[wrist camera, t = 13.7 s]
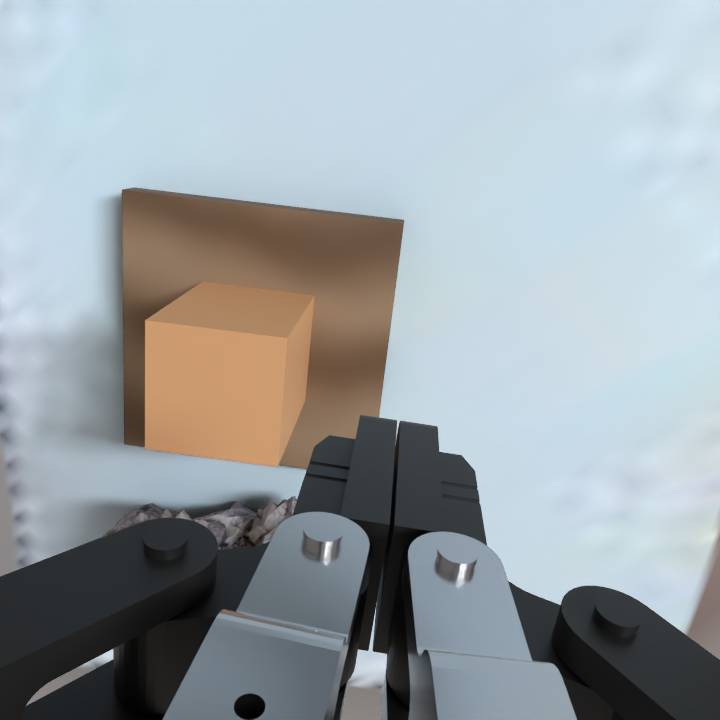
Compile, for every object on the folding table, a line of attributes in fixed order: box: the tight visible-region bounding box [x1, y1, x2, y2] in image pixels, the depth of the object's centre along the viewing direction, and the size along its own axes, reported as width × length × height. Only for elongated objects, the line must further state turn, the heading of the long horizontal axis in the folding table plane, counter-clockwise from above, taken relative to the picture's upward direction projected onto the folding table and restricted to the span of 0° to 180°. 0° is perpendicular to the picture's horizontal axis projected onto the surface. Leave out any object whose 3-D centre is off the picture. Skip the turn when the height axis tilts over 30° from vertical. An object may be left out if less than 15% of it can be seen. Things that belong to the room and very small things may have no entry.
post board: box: [122, 188, 404, 469], centre depth 32 cm, size 14×14×8 cm
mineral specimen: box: [101, 496, 297, 550], centre depth 37 cm, size 12×9×10 cm
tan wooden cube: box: [145, 282, 314, 467], centre depth 31 cm, size 6×6×8 cm
